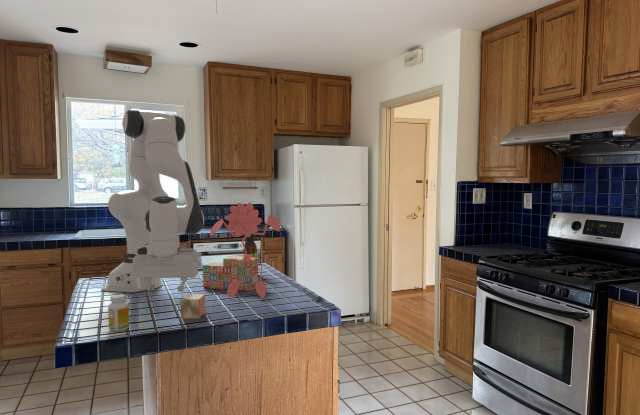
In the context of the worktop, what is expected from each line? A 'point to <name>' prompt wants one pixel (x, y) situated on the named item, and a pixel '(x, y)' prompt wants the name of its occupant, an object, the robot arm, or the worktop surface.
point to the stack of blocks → (231, 273)
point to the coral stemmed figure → (247, 224)
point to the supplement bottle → (118, 313)
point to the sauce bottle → (250, 247)
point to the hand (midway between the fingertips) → (166, 291)
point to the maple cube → (192, 305)
